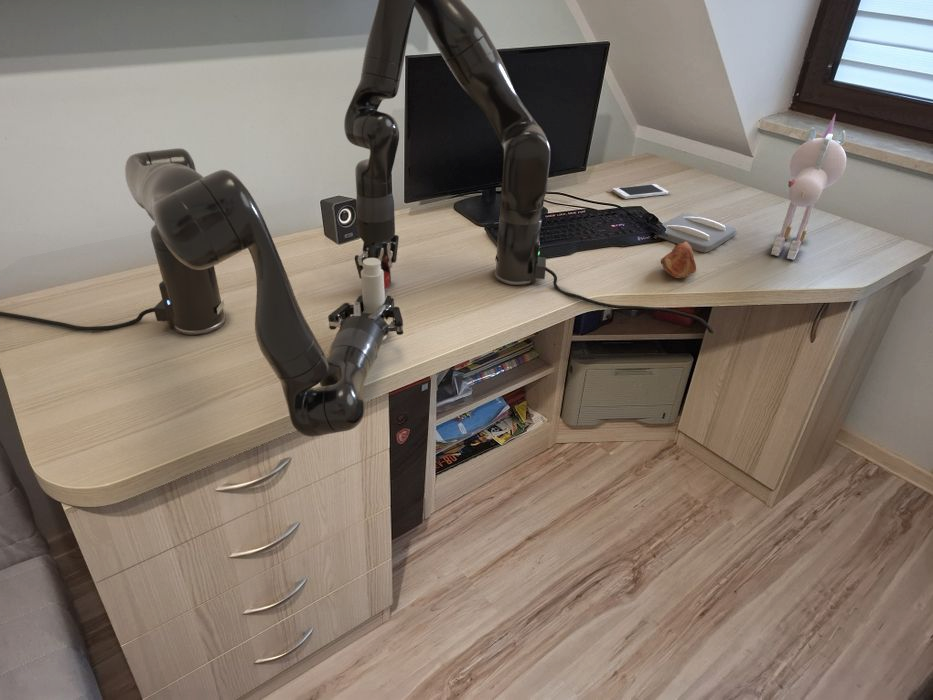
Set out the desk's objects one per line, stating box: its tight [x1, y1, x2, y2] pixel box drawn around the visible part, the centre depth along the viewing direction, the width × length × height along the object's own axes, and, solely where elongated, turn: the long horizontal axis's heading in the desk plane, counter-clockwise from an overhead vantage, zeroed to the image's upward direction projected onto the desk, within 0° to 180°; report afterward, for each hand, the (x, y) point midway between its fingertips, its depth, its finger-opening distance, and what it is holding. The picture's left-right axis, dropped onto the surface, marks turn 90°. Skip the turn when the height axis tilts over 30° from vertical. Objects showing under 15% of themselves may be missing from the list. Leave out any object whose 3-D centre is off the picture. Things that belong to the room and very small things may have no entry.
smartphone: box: [611, 183, 669, 200], centre depth 193 cm, size 7×15×1 cm, turn 111°
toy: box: [770, 112, 847, 261], centre depth 159 cm, size 12×36×30 cm, turn 148°
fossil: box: [660, 241, 697, 279], centre depth 147 cm, size 13×8×10 cm
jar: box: [360, 258, 388, 342], centre depth 118 cm, size 4×4×16 cm
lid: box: [383, 270, 391, 289], centre depth 136 cm, size 5×5×2 cm
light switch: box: [654, 212, 737, 253], centre depth 167 cm, size 18×3×15 cm
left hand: (377, 298), depth 121 cm, fingers closed on jar, 4 cm apart
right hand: (379, 288), depth 137 cm, fingers closed on lid, 4 cm apart
